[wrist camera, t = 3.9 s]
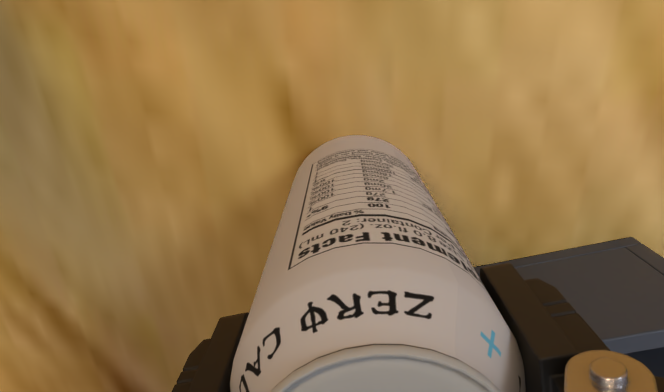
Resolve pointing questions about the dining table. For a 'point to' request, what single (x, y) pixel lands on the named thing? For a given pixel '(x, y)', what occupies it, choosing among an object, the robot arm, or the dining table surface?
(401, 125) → the dining table surface
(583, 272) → the tub
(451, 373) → the energy drink can
